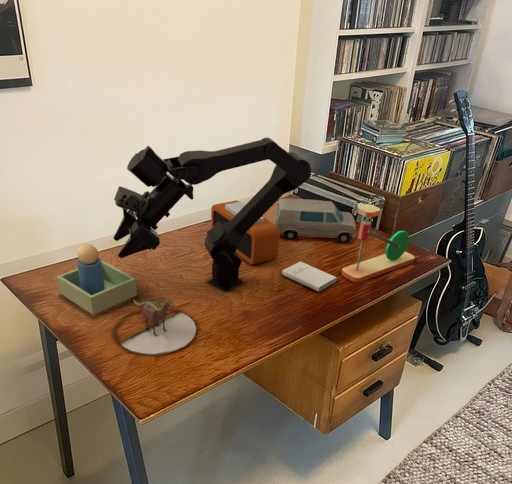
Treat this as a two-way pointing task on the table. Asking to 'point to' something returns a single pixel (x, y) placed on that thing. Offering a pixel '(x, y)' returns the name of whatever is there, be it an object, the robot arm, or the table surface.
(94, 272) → the peg doll
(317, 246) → the table surface
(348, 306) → the table surface
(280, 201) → the toy car
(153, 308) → the dinosaur
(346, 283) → the table surface
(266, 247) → the alarm clock
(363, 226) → the crank mechanism
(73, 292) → the green square tray
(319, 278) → the hard drive
